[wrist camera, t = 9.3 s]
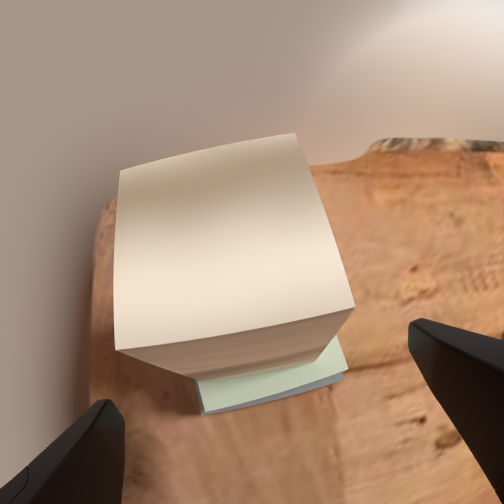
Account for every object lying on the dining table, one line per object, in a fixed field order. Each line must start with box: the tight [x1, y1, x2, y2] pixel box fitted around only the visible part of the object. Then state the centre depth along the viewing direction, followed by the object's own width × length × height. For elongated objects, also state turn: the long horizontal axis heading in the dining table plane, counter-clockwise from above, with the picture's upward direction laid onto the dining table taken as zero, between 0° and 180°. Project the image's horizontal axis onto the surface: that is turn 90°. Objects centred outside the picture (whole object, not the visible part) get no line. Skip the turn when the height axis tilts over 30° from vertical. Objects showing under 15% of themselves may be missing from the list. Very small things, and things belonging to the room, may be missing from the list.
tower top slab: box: [197, 335, 348, 412], centre depth 19 cm, size 8×8×2 cm
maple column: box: [114, 133, 355, 382], centre depth 13 cm, size 6×6×10 cm
